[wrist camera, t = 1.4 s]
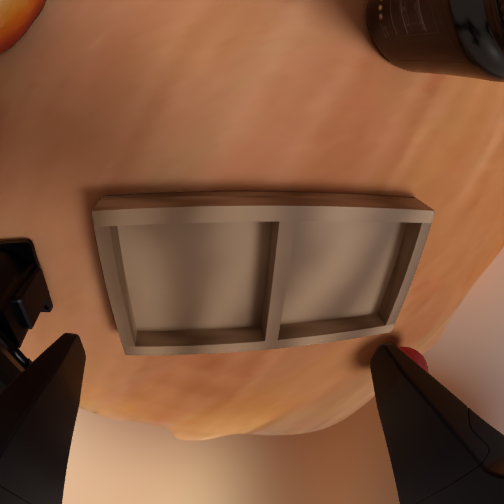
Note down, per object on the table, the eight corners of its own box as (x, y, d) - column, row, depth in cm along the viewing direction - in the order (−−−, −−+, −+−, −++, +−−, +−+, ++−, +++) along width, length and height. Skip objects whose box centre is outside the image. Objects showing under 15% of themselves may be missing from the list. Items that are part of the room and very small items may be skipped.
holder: (129, 333, 24) (125, 355, 22) (102, 196, 18) (91, 211, 16) (379, 314, 28) (391, 332, 26) (416, 198, 22) (434, 210, 20)
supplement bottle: (439, 5, 14) (569, 5, 4) (435, 82, 17) (571, 117, 7) (363, -28, 13) (496, -74, 2) (358, 57, 16) (511, 63, 6)
